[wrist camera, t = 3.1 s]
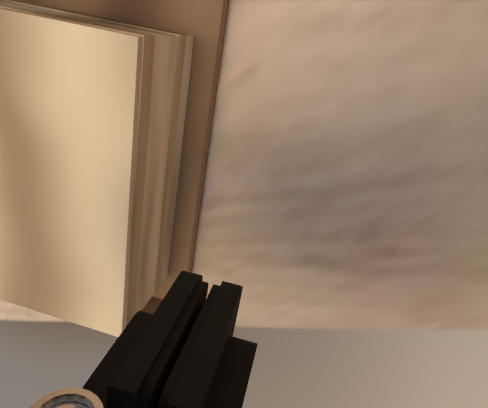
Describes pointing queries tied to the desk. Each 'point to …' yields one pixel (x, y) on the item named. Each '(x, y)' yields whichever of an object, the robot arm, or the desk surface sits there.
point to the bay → (197, 110)
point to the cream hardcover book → (88, 161)
